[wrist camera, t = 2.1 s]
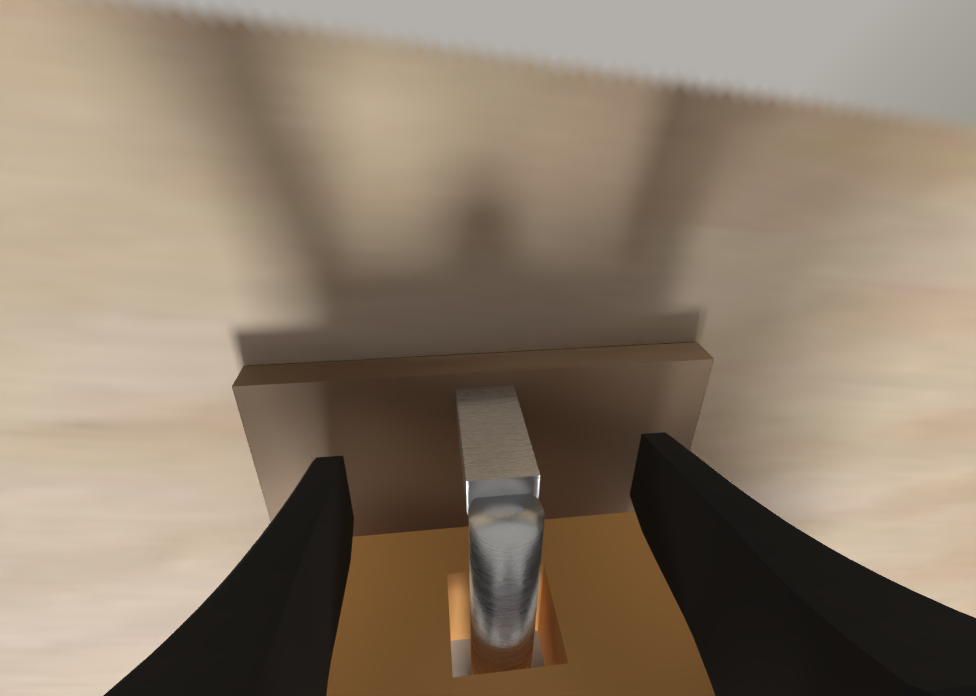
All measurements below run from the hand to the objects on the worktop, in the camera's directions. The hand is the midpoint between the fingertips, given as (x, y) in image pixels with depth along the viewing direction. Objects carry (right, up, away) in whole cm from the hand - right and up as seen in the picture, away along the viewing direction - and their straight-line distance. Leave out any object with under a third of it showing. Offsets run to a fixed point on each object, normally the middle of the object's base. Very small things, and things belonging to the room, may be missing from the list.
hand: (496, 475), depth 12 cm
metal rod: (-1, -5, +7) cm, 8 cm away
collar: (0, -3, +3) cm, 5 cm away
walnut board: (-1, -5, +7) cm, 8 cm away
